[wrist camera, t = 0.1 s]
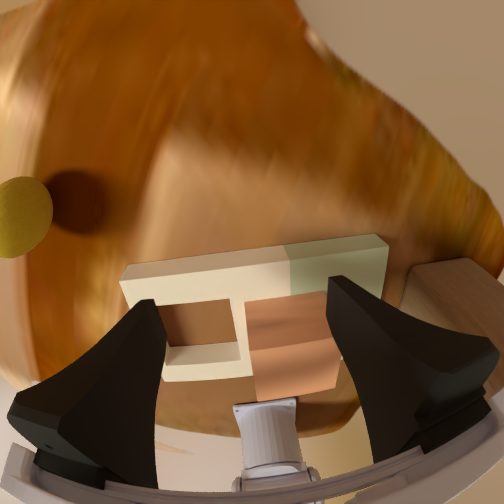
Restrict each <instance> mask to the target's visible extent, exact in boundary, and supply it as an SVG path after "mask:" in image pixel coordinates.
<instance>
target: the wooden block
mask: <svg viewBox="0 0 504 504" xmlns="http://www.w3.org/2000/svg"><path fill="white" fill-rule="evenodd" d="M398 310H400V311H402V312H404V313H406V314H409V315H411V316H413V317H415V318H417V319H420V320H422V321H425V322H427V323H430V324H433V325H436V326H439V327H442V328H445V329H449V330H452V331H456V332H460V333H465V334H471V335H477V336H484V337H488V338H489V339H490V341H491V342H492V343H493V344H494V345H495V347H496V348H497V349H498V351H499V352H500V357H499V361H498V363H497V365H496V367H495V368H494V370H493V371H492V373H491V374H490V376H489V377H488V379H487V380H486V382H485V383H484V384H483V387H484V388H485V390H486V394H485V395H484V396H483V397H484V398H485V400H486V401H487V400H488V399H489V398H490V397H491V396H493V395H494V394H495V393H496V392H498V391H499V390H500V389H502V388H503V387H504V286H503V285H502V284H501V283H500V282H499V281H497V280H496V279H495V278H494V277H493V276H492V275H490V274H489V273H488V272H487V271H485V270H484V269H483V268H482V267H481V266H479V265H478V264H477V263H476V262H474V261H473V260H472V259H470V258H465V257H464V258H459V259H453V260H446V261H440V262H434V263H427V264H421V265H415V266H414V267H412V268H411V269H410V271H409V273H408V277H407V281H406V285H405V288H404V292H403V296H402V299H401V303H400V306H399V309H398Z"/></svg>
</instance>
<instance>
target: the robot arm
mask: <svg viewBox="0 0 504 504" xmlns="http://www.w3.org/2000/svg"><path fill="white" fill-rule="evenodd" d="M326 318H327V322H328V325H329V328H330V331H331V334H332V336H333V338H334V341H335V343H336V345H337V347H338V349H339V351H340V353H341V355H342V357H343V359H344V361H345V363H346V366H347V368H348V370H349V372H350V374H351V376H352V379H353V381H354V384H355V387H356V390H357V393H358V396H359V400H360V403H361V406H362V409H363V414H364V417H365V421H366V425H367V430H368V434H369V439H370V444H371V450H372V456H373V462H374V464H373V465H370V466H367V467H364V468H361V469H358V470H355V471H352V472H349V473H346V474H342V475H338V476H334V477H330V478H326V479H322V480H321V478H320V475H319V473H318V471H317V470H316V469H314V468H313V467H307V466H306V462H303V459H302V454H301V449H300V445H299V440H298V436H297V431H296V426H295V415H296V398H287V399H281V400H274V401H267V402H259V403H251V404H242V405H234V406H233V411H234V414H235V417H236V420H237V423H238V426H239V429H240V432H241V443H242V456H243V468H244V470H242V471H241V476H242V477H236V479H235V480H234V481H233V483H232V492H184V491H170V490H160V489H159V488H158V482H157V474H156V465H155V444H154V431H155V430H154V429H155V428H154V427H155V407H156V400H157V394H158V389H159V384H160V379H161V374H162V370H163V365H164V360H165V354H166V342H167V334H166V331H165V328H164V326H163V323H162V320H161V318H160V315H159V312H158V309H157V307H156V304H155V301H154V299H143V300H140V301H139V302H137V303H136V304H135V305H134V306H133V307H132V308H131V309H130V310H129V311H128V312H127V313H126V314H125V316H124V317H123V318H122V319H121V320H120V321H119V322H118V323H117V324H116V325H115V326H114V327H113V328H112V329H111V330H110V331H109V332H108V333H107V334H106V335H105V336H104V337H103V338H102V339H101V340H100V341H99V342H98V343H97V344H95V345H94V346H93V347H92V348H91V349H90V350H89V351H87V352H86V353H85V354H84V355H82V356H81V357H80V358H79V359H77V360H76V361H75V362H73V363H72V364H70V365H69V366H67V367H66V368H64V369H63V370H62V371H60V372H58V373H57V374H55V375H53V376H52V377H50V378H48V379H46V380H44V381H43V382H41V383H39V384H37V385H34V386H32V387H30V388H27V389H25V390H23V391H20V392H18V393H17V394H16V397H15V398H14V401H13V403H12V405H11V407H10V410H9V412H8V414H7V419H8V421H9V423H10V424H11V425H12V427H13V428H15V429H16V430H17V431H18V432H19V433H20V434H21V435H22V436H23V437H25V438H26V439H27V440H28V441H29V442H31V443H32V444H33V445H34V446H35V447H37V452H36V453H34V452H32V451H30V450H29V449H27V448H25V447H22V446H20V445H18V444H16V443H12V445H11V448H10V451H9V454H8V457H7V461H6V464H5V467H4V471H3V475H2V479H1V483H0V488H1V489H2V490H3V491H4V492H6V493H7V494H9V495H10V496H12V497H14V498H15V499H16V500H18V501H20V502H21V503H23V504H324V500H325V499H330V498H334V497H337V496H341V495H344V494H348V493H351V492H355V491H357V490H360V489H364V488H367V487H370V486H372V485H374V486H372V487H370V488H367V489H365V490H363V491H360V492H358V493H357V494H356V495H355V497H354V498H353V499H351V500H349V501H347V502H345V504H446V503H448V502H449V501H451V500H452V499H454V498H455V497H457V496H458V495H459V494H461V493H462V492H463V491H465V490H466V489H467V488H469V487H470V486H471V485H473V484H474V483H475V482H476V481H478V480H479V479H480V478H481V477H483V476H484V475H485V474H486V473H487V472H488V471H490V470H491V469H492V468H493V467H494V466H495V465H496V464H497V463H498V462H499V461H500V460H501V459H503V457H504V387H503V388H502V389H500V390H499V391H498V392H496V393H495V394H494V395H493V396H491V397H490V398H489V399H488V400H487V401H486V400H485V398H484V397H483V396H484V395H485V394H486V390H485V388H484V387H483V384H484V383H485V382H486V380H487V379H488V377H489V376H490V374H491V373H492V371H493V370H494V368H495V367H496V365H497V363H498V361H499V357H500V352H499V351H498V349H497V348H496V347H495V345H494V344H493V343H492V342H491V341H490V339H489V338H488V337H484V336H477V335H471V334H465V333H460V332H456V331H452V330H449V329H445V328H442V327H439V326H436V325H433V324H430V323H427V322H425V321H422V320H420V319H417V318H415V317H413V316H411V315H409V314H406V313H404V312H402V311H400V310H398V309H397V308H395V307H393V306H391V305H389V304H388V303H386V302H384V301H383V300H381V299H379V298H378V297H376V296H374V295H373V294H371V293H370V292H368V291H367V290H365V289H364V288H362V287H360V286H359V285H357V284H356V283H354V282H353V281H351V280H350V279H348V278H347V277H345V276H343V275H337V276H331V277H328V288H327V303H326ZM380 482H381V483H380ZM378 483H379V484H378ZM375 484H377V485H375Z"/></svg>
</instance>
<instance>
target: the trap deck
mask: <svg viewBox="0 0 504 504" xmlns="http://www.w3.org/2000/svg"><path fill="white" fill-rule="evenodd" d="M388 252H389V245H387V244H386V243H385V242H384V241H383V240H382V239H381V238H379V237H378V236H377V235H376V234H367V235H359V236H351V237H343V238H335V239H327V240H319V241H311V242H303V243H295V244H287V245H279V246H271V247H263V248H255V249H247V250H240V251H232V252H224V253H216V254H208V255H201V256H193V257H185V258H178V259H170V260H162V261H155V262H147V263H139V264H132V265H128V267H127V268H126V270H125V272H124V274H123V275H122V277H121V279H120V280H119V283H120V285H121V288H122V290H123V293H124V296H125V298H126V301H127V303H128V305H129V308H130V309H131V308H132V307H133V306H134V305H135V304H136V303H137V302H139V301H140V300H143V299H154V301H155V304H156V306H160V305H171V304H181V303H191V302H200V301H209V300H218V299H227V298H230V303H231V309H232V314H233V320H234V325H235V330H236V335H237V340H238V341H235V342H226V343H216V344H205V345H193V346H178V347H170V346H169V344H168V341H167V342H166V354H165V360H164V365H163V370H162V374H161V376H162V377H163V379H164V381H165V382H169V381H196V380H211V379H224V378H234V377H244V376H252V375H253V371H252V365H251V359H250V353H249V345H248V335H247V326H246V317H245V307H244V302H247V301H255V300H262V299H269V298H277V297H284V296H290V295H297V294H303V293H310V292H316V291H322V290H323V292H324V294H325V296H326V298H327V288H328V277H331V276H337V275H343V276H345V277H347V278H348V279H350V280H351V281H353V282H354V283H356V284H357V285H359V286H360V287H362V288H364V289H365V290H367V291H368V292H370V293H371V294H373V295H374V296H376V297H378V298H379V299H381V295H382V289H383V284H384V278H385V272H386V266H387V259H388ZM342 359H343V357H342V355H341V360H342Z"/></svg>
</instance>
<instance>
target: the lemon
mask: <svg viewBox="0 0 504 504" xmlns="http://www.w3.org/2000/svg"><path fill="white" fill-rule="evenodd" d="M52 217H53V204H52V199H51V196H50V193H49V192H48V190H47V188H46V187H45V186H44V185H43V184H42V183H41V182H40V181H38V180H37V179H34V178H31V177H16V178H13V179H10V180H8V181H6V182H4V183H2V184H1V185H0V257H2V258H15V257H18V256H21V255H23V254H25V253H27V252H29V251H31V250H32V249H33V248H35V247H36V246H37V245H38V244H39V243H40V242H41V241H42V239H43V238H44V237H45V235H46V233H47V231H48V230H49V228H50V225H51V221H52Z"/></svg>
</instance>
